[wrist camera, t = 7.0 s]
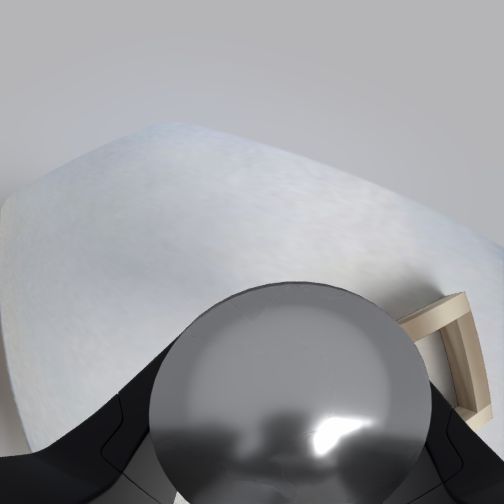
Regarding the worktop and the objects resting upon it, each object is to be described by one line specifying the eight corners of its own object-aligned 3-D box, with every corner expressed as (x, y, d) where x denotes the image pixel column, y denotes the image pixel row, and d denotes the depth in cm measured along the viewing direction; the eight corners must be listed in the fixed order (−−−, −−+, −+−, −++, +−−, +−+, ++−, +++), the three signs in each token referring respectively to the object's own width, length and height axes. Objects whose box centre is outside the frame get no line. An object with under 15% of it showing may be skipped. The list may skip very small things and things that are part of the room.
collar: (361, 472, 18) (371, 489, 15) (322, 351, 21) (330, 355, 18) (473, 411, 18) (493, 418, 15) (445, 296, 21) (464, 291, 18)
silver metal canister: (243, 409, 14) (181, 545, 3) (227, 322, 15) (121, 304, 5) (333, 393, 14) (437, 499, 3) (318, 305, 15) (410, 250, 4)
